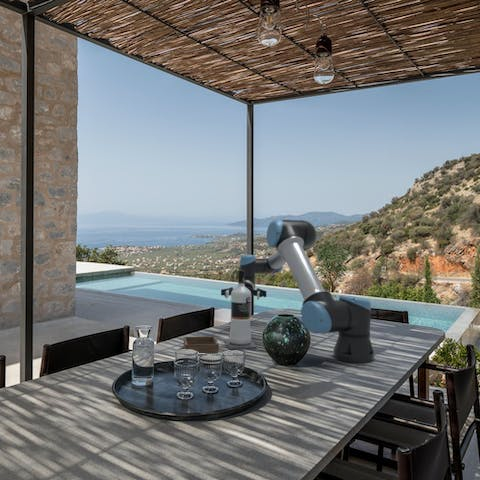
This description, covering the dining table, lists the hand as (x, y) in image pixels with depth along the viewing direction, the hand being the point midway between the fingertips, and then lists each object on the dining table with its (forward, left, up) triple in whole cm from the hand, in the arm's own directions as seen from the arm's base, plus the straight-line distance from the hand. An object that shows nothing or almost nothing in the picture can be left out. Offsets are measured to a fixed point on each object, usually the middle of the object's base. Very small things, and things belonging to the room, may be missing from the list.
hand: (242, 295), depth 198 cm
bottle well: (-15, +19, -19) cm, 31 cm away
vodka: (-8, +2, -18) cm, 20 cm away
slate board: (-8, +2, -19) cm, 21 cm away
